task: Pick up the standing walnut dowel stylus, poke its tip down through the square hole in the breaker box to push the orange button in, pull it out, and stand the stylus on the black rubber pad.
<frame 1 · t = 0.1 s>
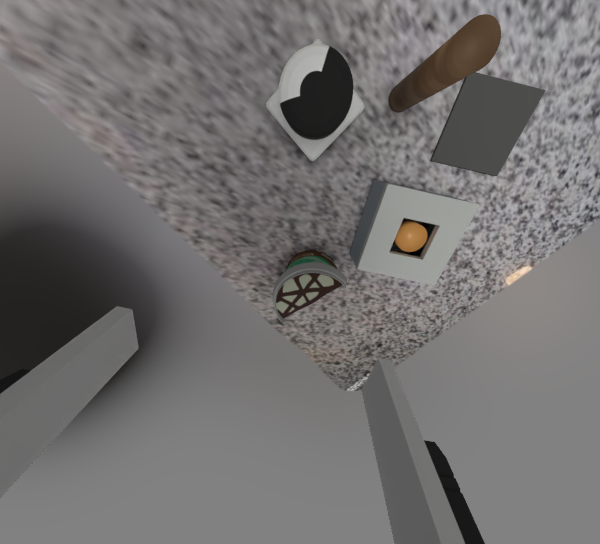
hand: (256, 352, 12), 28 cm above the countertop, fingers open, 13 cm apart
button: (407, 235, 32), point 5 cm above the countertop, slide at 0.0 cm
food container: (302, 262, 40), on the countertop
container: (314, 118, 30), on the countertop
stylus: (400, 98, 29), on the countertop
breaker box: (396, 226, 36), on the countertop
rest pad: (482, 128, 30), on the countertop
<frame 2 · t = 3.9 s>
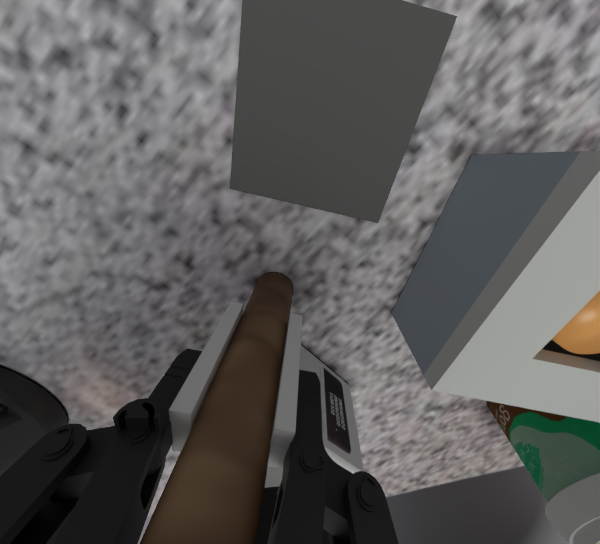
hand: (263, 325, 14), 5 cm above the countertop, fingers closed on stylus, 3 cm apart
button: (574, 304, 12), point 5 cm above the countertop, slide at 0.0 cm
food container: (506, 399, 23), on the countertop
container: (298, 379, 23), on the countertop
stylus: (274, 288, 18), on the countertop, touching gripper
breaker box: (501, 265, 16), on the countertop
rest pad: (324, 117, 13), on the countertop
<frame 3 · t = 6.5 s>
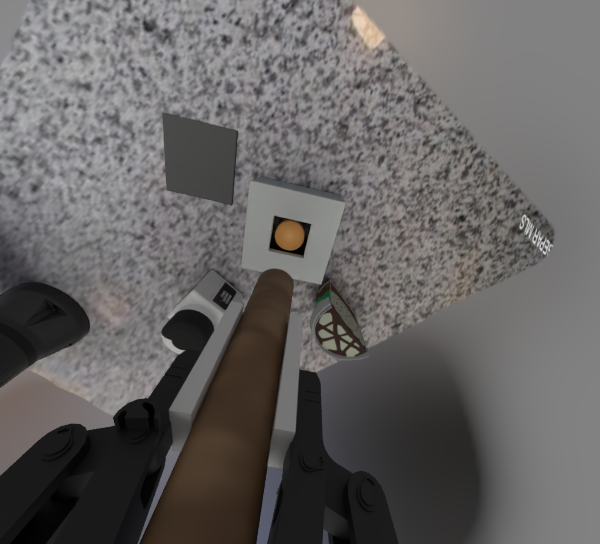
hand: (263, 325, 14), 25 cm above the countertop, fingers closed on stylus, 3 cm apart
button: (290, 233, 31), point 5 cm above the countertop, slide at 0.0 cm
food container: (328, 303, 43), on the countertop
container: (216, 293, 43), on the countertop
stylus: (275, 284, 19), point 19 cm above the countertop, touching gripper
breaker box: (292, 224, 36), on the countertop
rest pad: (200, 162, 32), on the countertop
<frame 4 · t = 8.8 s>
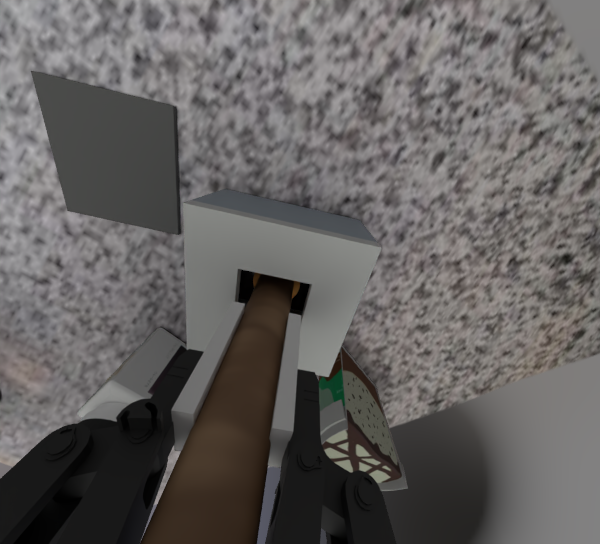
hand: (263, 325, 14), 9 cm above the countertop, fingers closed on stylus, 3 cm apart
button: (278, 275, 20), point 2 cm above the countertop, slide at 2.9 cm, touching stylus
food container: (337, 372, 29), on the countertop
container: (172, 356, 29), on the countertop
stylus: (276, 283, 19), point 4 cm above the countertop, touching button, gripper
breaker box: (281, 265, 22), on the countertop
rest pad: (118, 164, 19), on the countertop
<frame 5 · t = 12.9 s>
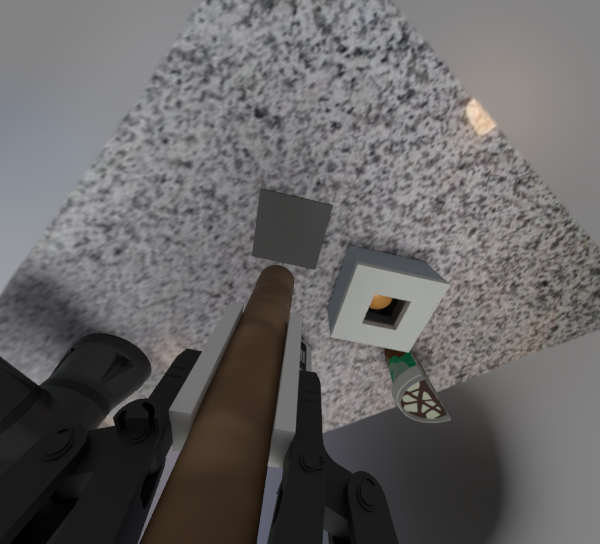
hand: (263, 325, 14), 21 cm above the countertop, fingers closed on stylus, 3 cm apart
button: (375, 292, 34), point 2 cm above the countertop, slide at 3.1 cm
food container: (395, 355, 43), on the countertop
container: (284, 344, 43), on the countertop
stylus: (276, 280, 19), point 15 cm above the countertop, touching gripper
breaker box: (372, 286, 36), on the countertop
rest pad: (290, 231, 33), on the countertop
when the fingers open (6 cm above the countertop, at t = 15.7 s): stylus stays where it is, resting on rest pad.
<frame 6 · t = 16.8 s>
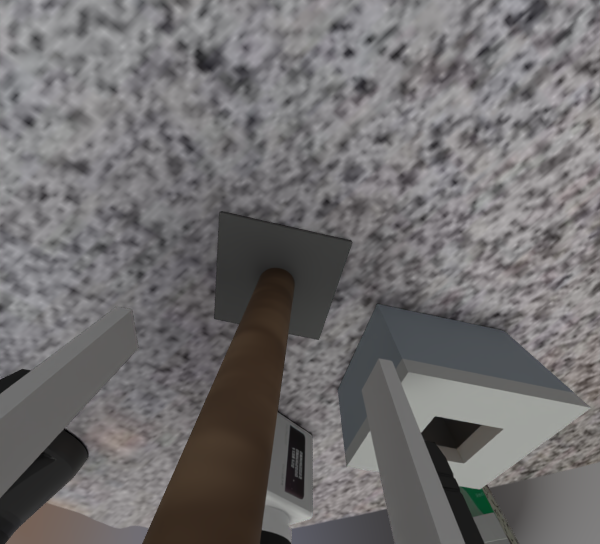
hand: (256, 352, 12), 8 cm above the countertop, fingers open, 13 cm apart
food container: (436, 446, 29), on the countertop
container: (272, 429, 29), on the countertop
stylus: (276, 283, 18), resting on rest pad
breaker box: (412, 363, 22), on the countertop
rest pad: (276, 282, 19), on the countertop
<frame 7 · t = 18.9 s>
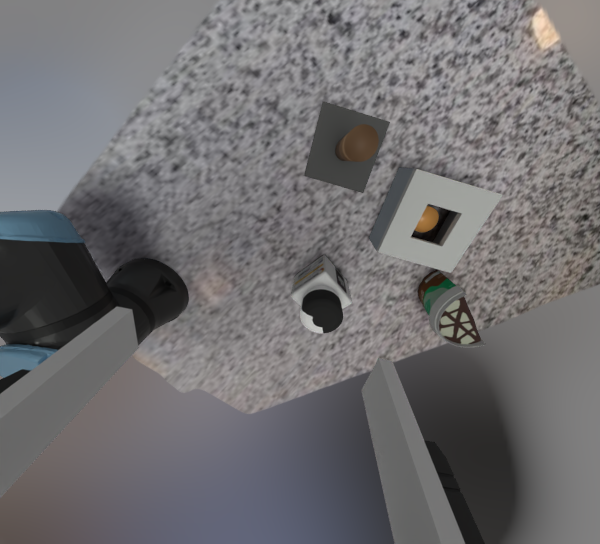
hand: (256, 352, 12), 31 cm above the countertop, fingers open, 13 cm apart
button: (420, 217, 36), point 2 cm above the countertop, slide at 3.1 cm
food container: (428, 293, 44), on the countertop
container: (320, 278, 45), on the countertop
stylus: (345, 149, 34), resting on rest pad
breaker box: (416, 214, 38), on the countertop
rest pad: (344, 150, 34), on the countertop
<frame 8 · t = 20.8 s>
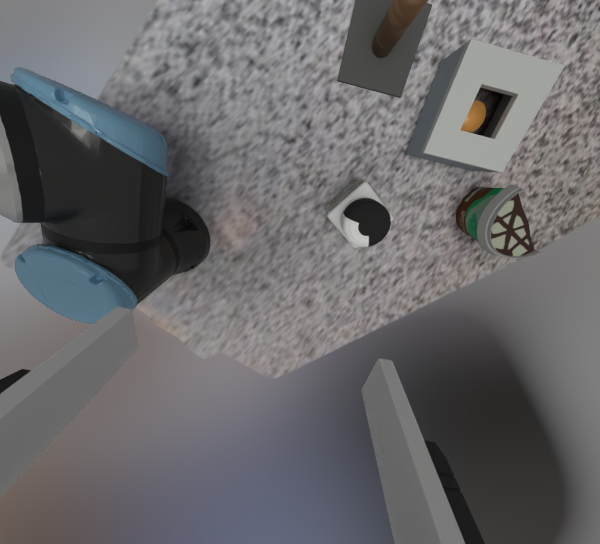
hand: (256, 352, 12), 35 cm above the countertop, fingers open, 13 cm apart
button: (464, 119, 33), point 2 cm above the countertop, slide at 3.1 cm
food container: (466, 218, 42), on the countertop
container: (352, 208, 42), on the countertop
stylus: (382, 43, 31), resting on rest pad
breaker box: (457, 121, 35), on the countertop
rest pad: (381, 46, 32), on the countertop
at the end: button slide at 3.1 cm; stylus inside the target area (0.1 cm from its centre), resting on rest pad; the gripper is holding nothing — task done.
